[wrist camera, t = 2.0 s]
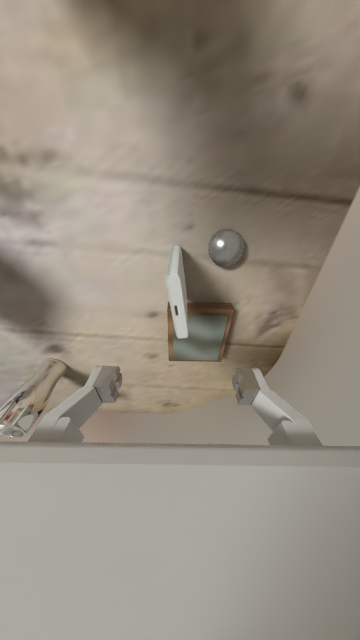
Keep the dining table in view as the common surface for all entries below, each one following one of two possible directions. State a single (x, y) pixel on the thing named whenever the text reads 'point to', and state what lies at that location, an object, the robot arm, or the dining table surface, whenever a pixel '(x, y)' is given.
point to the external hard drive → (177, 292)
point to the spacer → (226, 248)
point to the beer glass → (30, 399)
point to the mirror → (201, 332)
